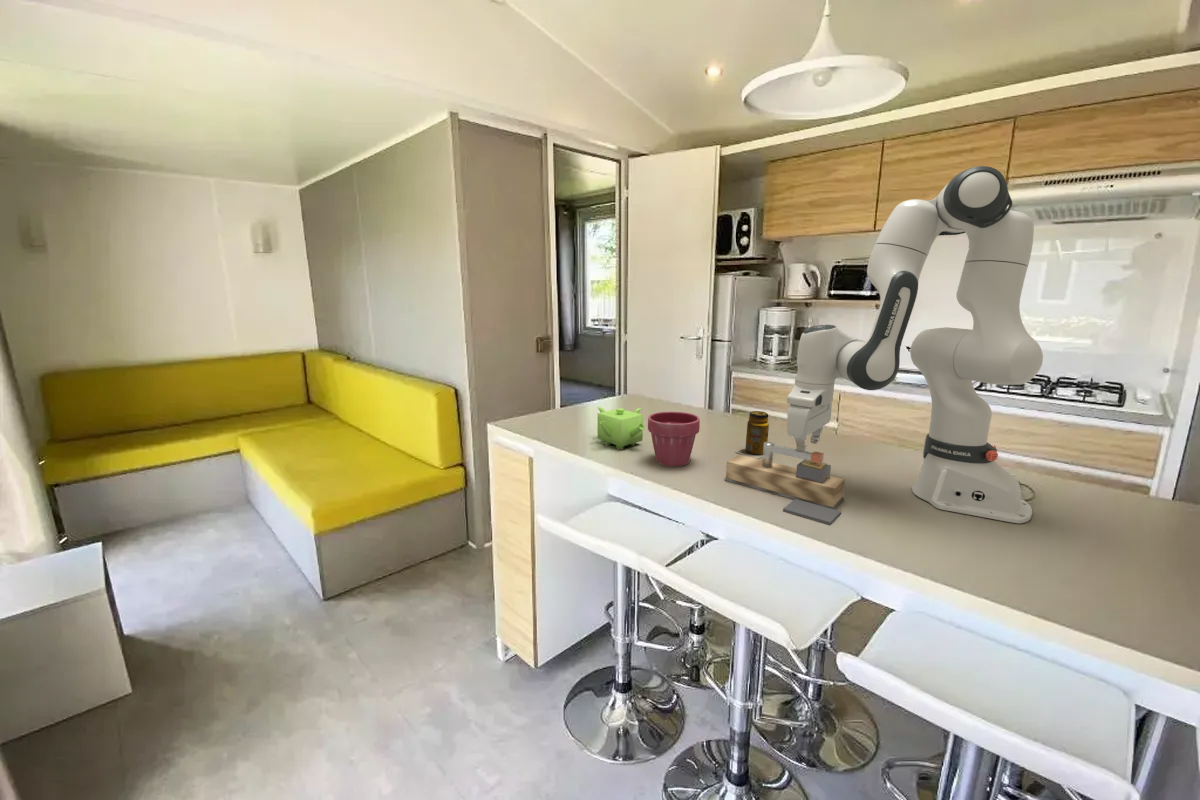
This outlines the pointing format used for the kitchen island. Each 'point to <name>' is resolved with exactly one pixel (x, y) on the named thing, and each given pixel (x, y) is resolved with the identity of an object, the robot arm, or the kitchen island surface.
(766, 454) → the latch lever
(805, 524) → the kitchen island surface
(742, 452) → the condiment
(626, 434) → the kettle
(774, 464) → the plane body
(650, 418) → the plant pot
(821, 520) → the mat
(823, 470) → the grey and tan block
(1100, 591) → the kitchen island surface
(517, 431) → the kitchen island surface
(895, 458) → the kitchen island surface
